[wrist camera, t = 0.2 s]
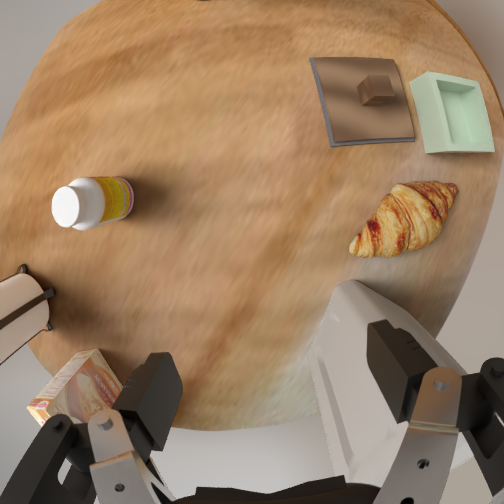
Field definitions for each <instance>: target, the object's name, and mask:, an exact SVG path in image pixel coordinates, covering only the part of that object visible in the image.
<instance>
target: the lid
mask: <svg viewBox="0 0 504 504" xmlns="http://www.w3.org/2000/svg"><path fill="white" fill-rule="evenodd" d="M314 62H315V66H316V69H317V73H318V77H319V80H320V84H321V88H322V92H323V96H324V100H325V104H326V108H327V112H328V116H329V121H330V125H331V130H332V135H333V140H334V143H336V142H347V141H359V140H373V139H393V138H413V137H415V136H414V131H413V126H412V122H411V117H410V113H409V109H408V105H407V101H406V98H405V94H404V90H403V87H402V84H401V80H400V77H399V74H398V71H397V68H396V65H395V62H394V60H392V59H380V58H361V57H325V58H315V59H314Z"/></svg>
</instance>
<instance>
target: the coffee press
mask: <svg viewBox="0 0 504 504" xmlns="http://www.w3.org/2000/svg"><path fill="white" fill-rule="evenodd" d="M21 267H22V268H23V273H22V274H18V275H16V274H17V273H19V271H20V269H21ZM16 274H14V275H15V276H14V275H12V276H13V277H12V276H10V277H11V278H10V277H8V278H6V279H4V280H2V281H3V282H2V281H0V282H1V283H0V365H1V364H2V363H3V362H5V361H6V360H7V359H8V358H9V357H10V356H12V355H13V354H14V353H15V352H16V351H18V350H19V349H20V348H21V347H22V346H23V345H25V344H26V343H27V342H28V341H30V340H31V339H32V338H33V337H35V336H36V335H37V334H38V333H40V332H41V331H45V332H48V331H51V330H52V326H51V325H50V324H49V323H47V322H48V319H49V307H48V302H47V299H48V298H49V297H51V296H53V295H55V294H56V293H55V291H54V288H51V289H48V290H46V291H44V292H43V290H42V288H41V287H40V285H39V284H38V283H37V282H36V281H35V280H34V279H33V278H32V277H31V276H29V275H27V274H26V266H25V264H22V265H20V266H19V267H18V270H17V272H16ZM46 325H47V326H48V330H45V329H43V328H44V327H45V326H46ZM41 329H43V330H41Z"/></svg>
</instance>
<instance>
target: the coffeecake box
mask: <svg viewBox="0 0 504 504" xmlns="http://www.w3.org/2000/svg"><path fill="white" fill-rule="evenodd" d="M123 388H124V387H123V386H122V384H121V383H120V382H119V380H118V379H117V377H116V376H115V374H114V373H113V371H112V370H111V368H110V367H109V365H108V364H107V362H106V361H105V359H104V357H103V356H102V354H101V353H100V351H99V349H98V348H96V349H91V350H87V351H81V352H77V353H76V354H75V355H74V356H73V357H72V358H71V359H70V360H69V361H68V362H67V364H66V365H65V366H64V367H63V368H62V369H61V370H60V371H59V372H58V373H57V374H56V375H55V376H54V377H53V379H52V380H51V381H50V382H49V383H48V384H47V385H46V387H44V388H43V390H42V391H41V392H40V393H39V394H38V395H37V396H36V397H35V399H34V400H33V401H32V402H31V403H30V404H29V405H28V407H27V409H28V410H29V411H30V413H31V414H32V415H33V417H34V418H35V419H36V420H37V421H38V423H39V424H40V425H41V426H43V425H44V424H45V422H46V421H47V420H48V419H49V418H50V417H52V416H54V415H56V414H66V415H68V416H69V417H70V419H71V420H72V421H73V423H74V424H78V423H88V422H89V420H90V418H91V417H92V416H93V415H94V414H95V413H97V412H99V411H101V410H105V409H111V408H112V406H113V404H114V402H115V401H116V399H117V397H118V396H119V394H120V392H121V391H122V389H123Z"/></svg>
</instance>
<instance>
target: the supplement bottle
mask: <svg viewBox="0 0 504 504" xmlns="http://www.w3.org/2000/svg"><path fill="white" fill-rule="evenodd" d="M133 203H134V194H133V190H132V187H131V186H130V184H129V183H128V182H127V181H126V180H125V179H123V178H121V177H81V178H77V179H75V180H74V181H72V182H71V183H70V184H69V185H68V186H64V187H61V188H60V189H58V190H57V192H56V193H55V195H54V197H53V200H52V213H53V216H54V219H55V220H56V222H57V223H58V224H59V225H60V226H62V227H71V226H72V227H73V228H75V229H78V230H88V229H92V228H95V227H98V226H101V225H104V224H108V223H111V222H114V221H117V220H120V219H123V218H124V217H126V216H127V215H128V214H129V212H130V211H131V209H132V206H133Z"/></svg>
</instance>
